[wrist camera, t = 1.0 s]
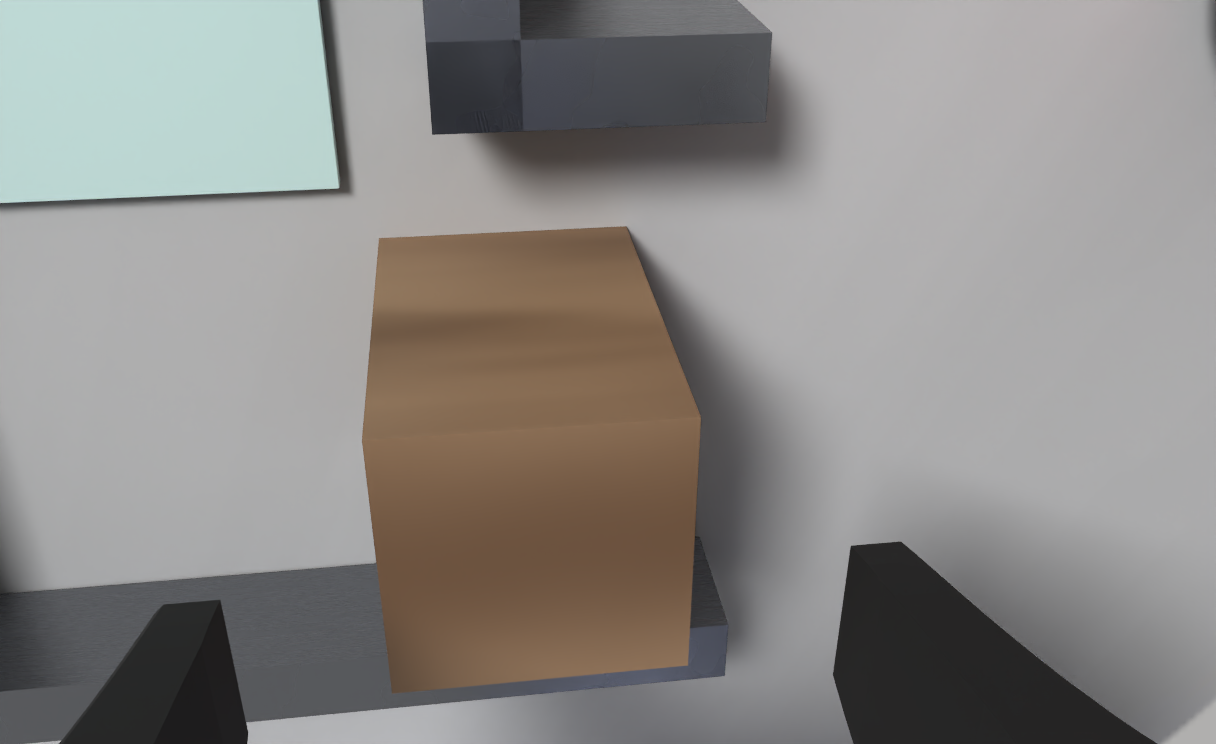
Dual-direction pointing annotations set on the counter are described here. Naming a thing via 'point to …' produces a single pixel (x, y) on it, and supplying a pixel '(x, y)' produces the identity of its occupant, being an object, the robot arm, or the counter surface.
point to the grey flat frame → (350, 595)
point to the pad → (163, 98)
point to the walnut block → (527, 460)
